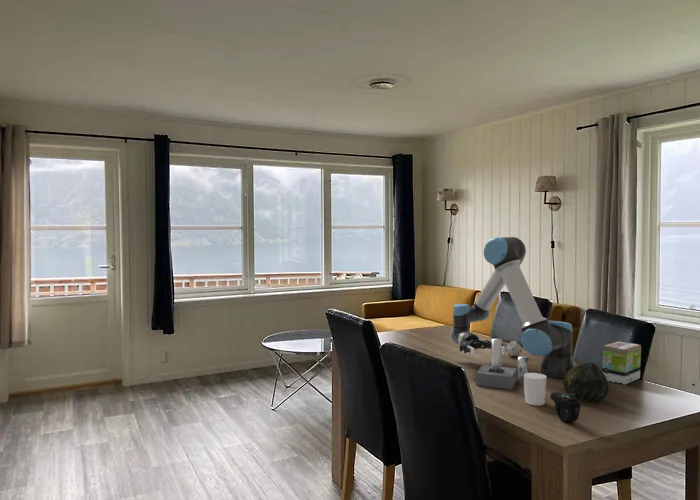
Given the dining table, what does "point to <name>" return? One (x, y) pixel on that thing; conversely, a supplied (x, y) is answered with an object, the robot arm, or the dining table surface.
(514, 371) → the charcoal collar block
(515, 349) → the game die
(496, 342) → the long steel pin
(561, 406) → the controller
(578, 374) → the squash
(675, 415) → the dining table surface
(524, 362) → the short steel pin
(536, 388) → the white cup
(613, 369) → the tea box
